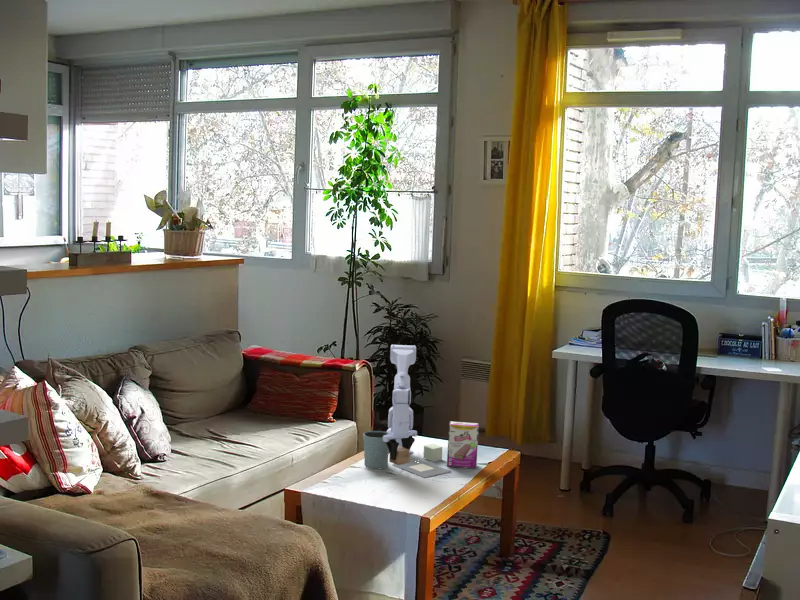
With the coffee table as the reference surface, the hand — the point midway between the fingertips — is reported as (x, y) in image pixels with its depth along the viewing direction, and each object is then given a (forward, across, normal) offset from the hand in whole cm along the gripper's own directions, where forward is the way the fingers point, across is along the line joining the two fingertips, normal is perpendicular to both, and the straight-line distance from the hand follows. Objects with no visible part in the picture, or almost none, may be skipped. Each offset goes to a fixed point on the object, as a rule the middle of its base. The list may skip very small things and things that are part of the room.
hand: (399, 458), depth 308 cm
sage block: (+6, +23, +7) cm, 25 cm away
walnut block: (+2, 0, 0) cm, 2 cm away
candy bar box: (+6, +26, -6) cm, 27 cm away
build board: (+6, +11, 0) cm, 12 cm away
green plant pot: (+6, -1, +12) cm, 14 cm away
